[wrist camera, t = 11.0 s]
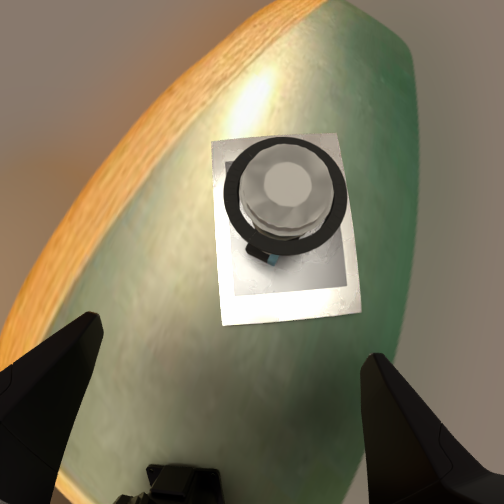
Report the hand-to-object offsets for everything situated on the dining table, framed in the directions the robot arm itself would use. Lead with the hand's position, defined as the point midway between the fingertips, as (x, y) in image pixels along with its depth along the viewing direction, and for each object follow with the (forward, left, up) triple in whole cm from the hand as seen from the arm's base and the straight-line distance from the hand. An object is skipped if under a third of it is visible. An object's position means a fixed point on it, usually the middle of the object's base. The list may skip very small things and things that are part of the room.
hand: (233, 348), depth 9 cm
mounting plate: (+6, -3, -13) cm, 15 cm away
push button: (+6, -3, -12) cm, 14 cm away
